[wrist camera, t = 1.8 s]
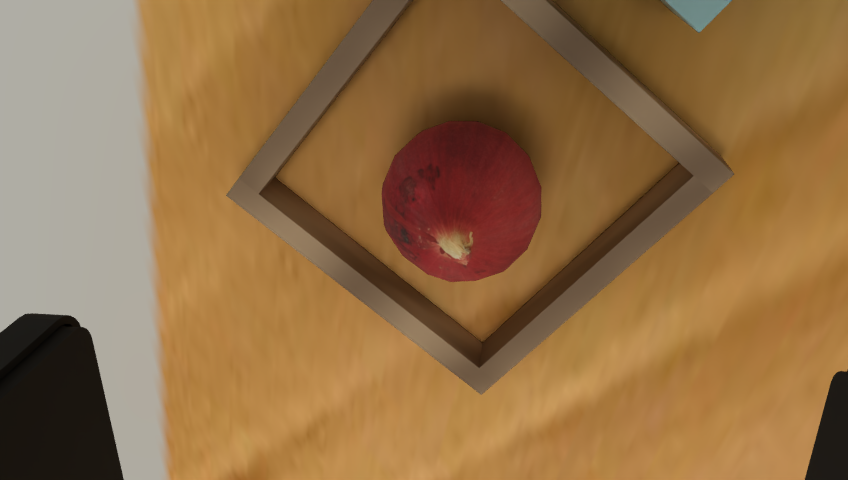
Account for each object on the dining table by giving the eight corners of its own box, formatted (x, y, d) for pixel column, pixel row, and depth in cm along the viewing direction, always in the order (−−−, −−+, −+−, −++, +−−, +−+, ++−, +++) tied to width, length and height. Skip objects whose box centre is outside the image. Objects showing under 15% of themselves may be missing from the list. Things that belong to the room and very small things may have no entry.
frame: (722, 157, 28) (734, 174, 26) (484, 368, 34) (481, 394, 32) (449, -94, 26) (443, -94, 24) (243, 178, 32) (225, 195, 30)
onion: (405, 232, 32) (366, 328, 24) (395, 101, 29) (348, 165, 22) (540, 231, 31) (541, 331, 23) (540, 97, 28) (541, 162, 21)
